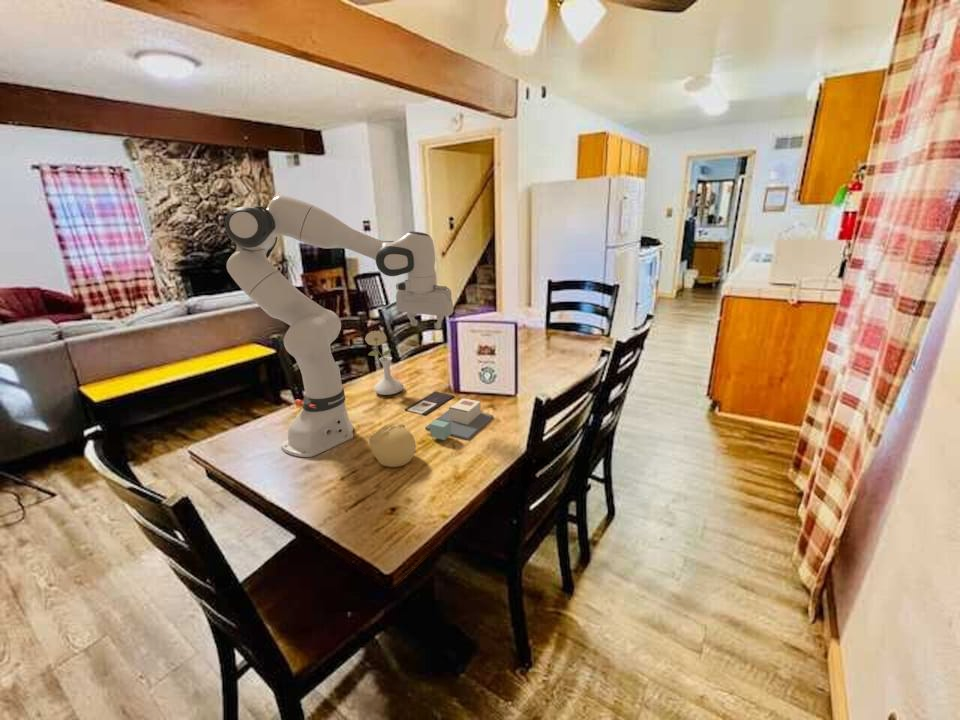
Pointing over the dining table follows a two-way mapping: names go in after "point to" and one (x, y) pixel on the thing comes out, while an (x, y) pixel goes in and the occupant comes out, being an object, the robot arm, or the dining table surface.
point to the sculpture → (393, 445)
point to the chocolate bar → (429, 403)
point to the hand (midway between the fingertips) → (426, 326)
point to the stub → (440, 429)
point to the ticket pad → (465, 428)
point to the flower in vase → (388, 382)
